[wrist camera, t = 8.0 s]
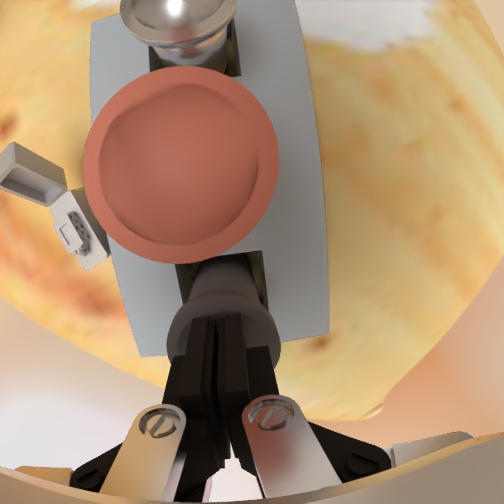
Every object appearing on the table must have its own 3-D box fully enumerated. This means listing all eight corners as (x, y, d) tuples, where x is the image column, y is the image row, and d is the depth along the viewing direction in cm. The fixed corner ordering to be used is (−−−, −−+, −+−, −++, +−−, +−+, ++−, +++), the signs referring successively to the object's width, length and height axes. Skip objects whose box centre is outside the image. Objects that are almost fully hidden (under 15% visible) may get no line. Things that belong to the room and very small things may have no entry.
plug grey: (229, 31, 14) (232, -49, 6) (237, 90, 15) (245, 30, 8) (161, 41, 14) (122, -29, 6) (165, 101, 15) (119, 53, 7)
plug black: (255, 238, 18) (276, 291, 10) (262, 303, 19) (284, 385, 11) (184, 247, 17) (153, 306, 10) (197, 311, 19) (181, 396, 11)
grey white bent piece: (132, 238, 18) (76, 282, 10) (113, 251, 18) (52, 300, 10) (81, 147, 16) (4, 139, 8) (63, 162, 16) (-16, 165, 9)
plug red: (245, 118, 13) (266, 55, 5) (255, 205, 14) (289, 249, 6) (156, 131, 13) (76, 93, 5) (167, 218, 14) (101, 274, 6)
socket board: (280, 20, 15) (292, -10, 11) (311, 304, 20) (328, 333, 16) (114, 45, 14) (91, 22, 11) (154, 324, 20) (140, 356, 16)
